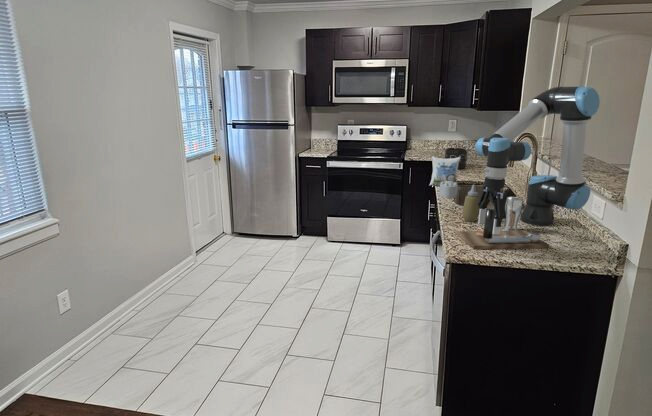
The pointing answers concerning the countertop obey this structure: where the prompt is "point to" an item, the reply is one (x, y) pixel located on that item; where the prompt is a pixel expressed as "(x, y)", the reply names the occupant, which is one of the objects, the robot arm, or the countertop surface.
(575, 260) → the countertop surface
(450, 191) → the lumpy-topped squat cylinder
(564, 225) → the countertop surface
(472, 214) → the squeeze bottle
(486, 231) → the lever
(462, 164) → the dark rounded-top box
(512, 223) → the beer glass
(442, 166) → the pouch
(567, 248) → the countertop surface
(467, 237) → the lever board
